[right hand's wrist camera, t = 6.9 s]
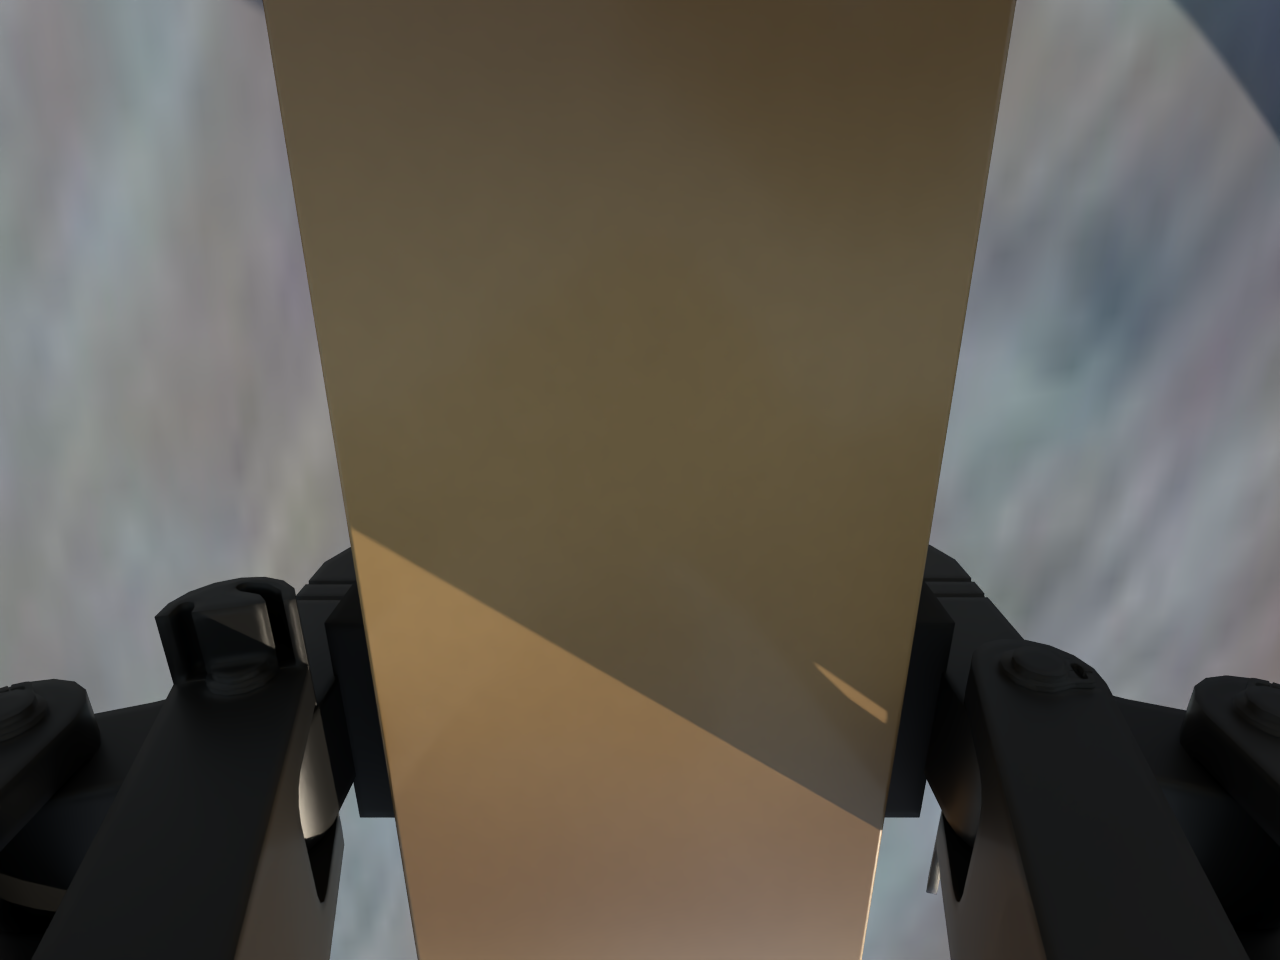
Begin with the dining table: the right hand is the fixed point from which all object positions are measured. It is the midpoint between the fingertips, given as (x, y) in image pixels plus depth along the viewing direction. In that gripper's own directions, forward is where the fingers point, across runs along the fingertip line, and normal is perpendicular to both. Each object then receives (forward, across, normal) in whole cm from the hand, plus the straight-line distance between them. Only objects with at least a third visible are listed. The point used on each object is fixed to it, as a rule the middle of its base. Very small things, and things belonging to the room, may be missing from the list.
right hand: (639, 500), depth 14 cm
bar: (+1, 0, -8) cm, 8 cm away
